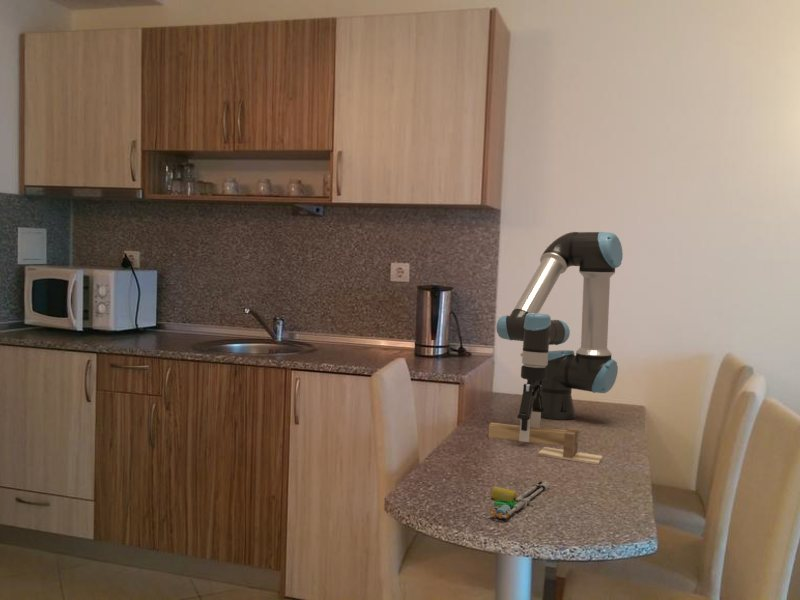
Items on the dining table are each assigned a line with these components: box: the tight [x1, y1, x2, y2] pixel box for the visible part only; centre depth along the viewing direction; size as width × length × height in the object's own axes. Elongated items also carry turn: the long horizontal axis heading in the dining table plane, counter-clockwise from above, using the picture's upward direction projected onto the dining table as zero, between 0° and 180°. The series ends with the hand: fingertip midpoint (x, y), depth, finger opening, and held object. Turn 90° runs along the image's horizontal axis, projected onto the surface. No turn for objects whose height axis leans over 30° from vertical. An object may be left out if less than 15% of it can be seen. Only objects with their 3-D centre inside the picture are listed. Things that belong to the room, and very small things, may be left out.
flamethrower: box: [489, 481, 551, 520], centre depth 147 cm, size 29×3×10 cm
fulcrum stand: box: [537, 427, 604, 466], centre depth 187 cm, size 8×16×7 cm, turn 66°
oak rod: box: [488, 422, 568, 447], centre depth 204 cm, size 4×24×4 cm, turn 76°
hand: (529, 437), depth 204 cm, fingers open, 13 cm apart
